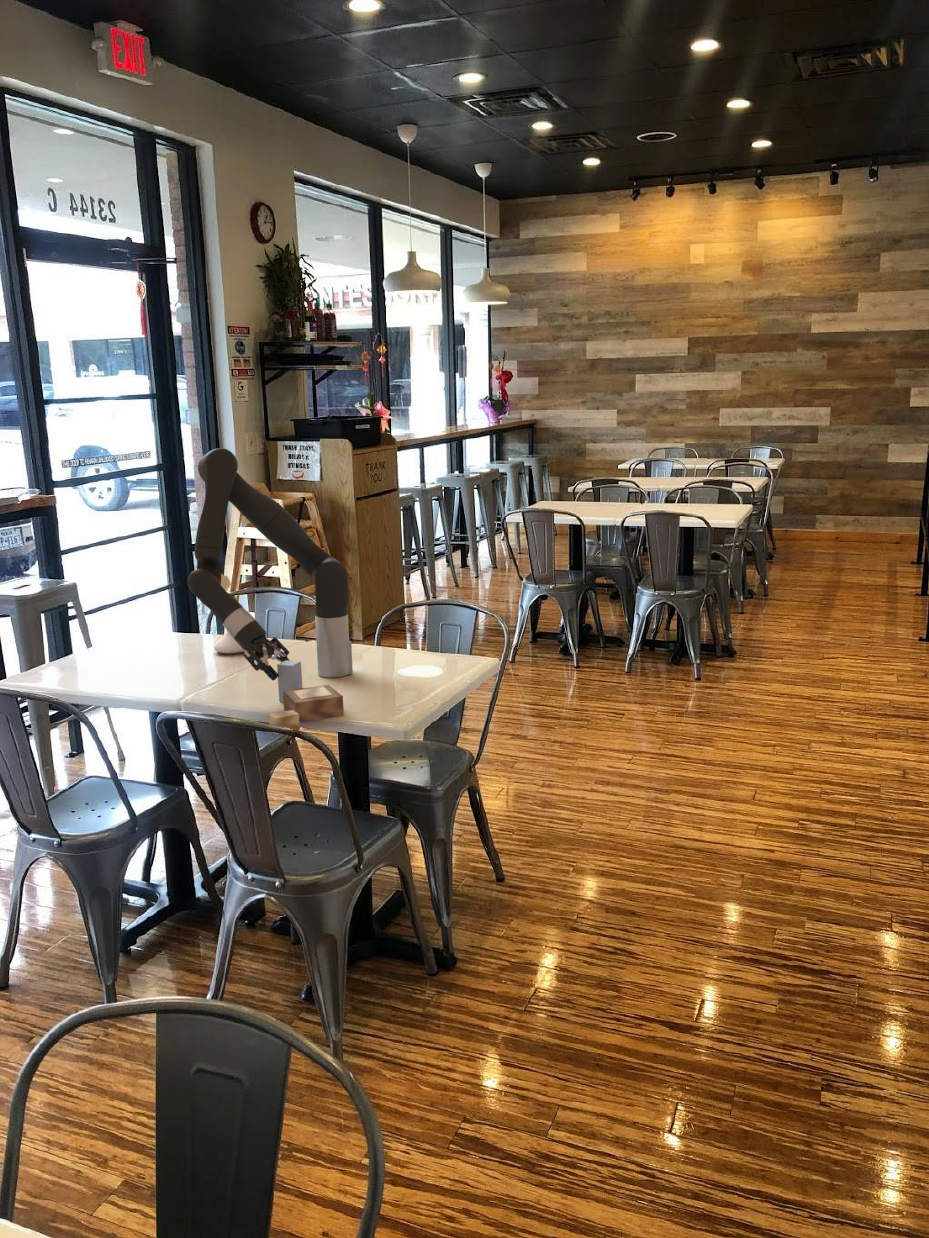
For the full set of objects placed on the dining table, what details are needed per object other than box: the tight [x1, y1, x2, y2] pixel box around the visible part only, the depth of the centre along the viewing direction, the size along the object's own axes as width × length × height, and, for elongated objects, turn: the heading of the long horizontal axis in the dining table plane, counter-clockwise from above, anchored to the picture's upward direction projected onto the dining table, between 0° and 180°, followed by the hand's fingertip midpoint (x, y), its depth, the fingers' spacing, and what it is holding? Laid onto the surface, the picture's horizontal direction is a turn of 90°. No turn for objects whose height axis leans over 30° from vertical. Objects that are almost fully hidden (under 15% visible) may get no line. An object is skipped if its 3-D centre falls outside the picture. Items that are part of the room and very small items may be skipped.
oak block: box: [268, 710, 301, 735], centre depth 250 cm, size 6×4×4 cm, turn 121°
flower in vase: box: [213, 573, 245, 654], centre depth 327 cm, size 13×11×25 cm
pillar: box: [276, 660, 303, 703], centre depth 274 cm, size 4×4×10 cm
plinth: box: [283, 684, 345, 723], centre depth 263 cm, size 12×12×5 cm
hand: (284, 674), depth 274 cm, fingers open, 8 cm apart
